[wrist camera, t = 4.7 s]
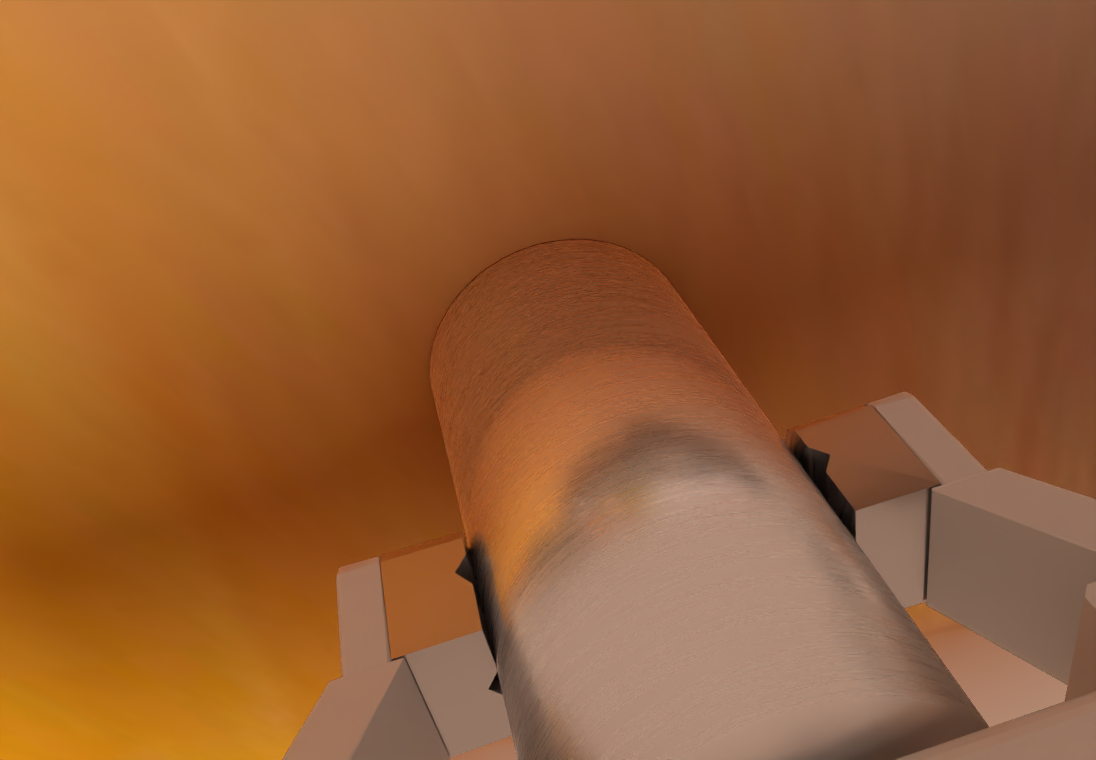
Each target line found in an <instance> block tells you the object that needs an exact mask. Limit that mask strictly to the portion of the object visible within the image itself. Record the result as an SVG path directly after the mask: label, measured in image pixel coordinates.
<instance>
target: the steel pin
mask: <svg viewBox="0 0 1096 760" xmlns="http://www.w3.org/2000/svg"><path fill="white" fill-rule="evenodd" d="M430 381H431V387H432V392H433V396H434V400H435V405H436V409H437V413H438V417H439V422H440V426H441V430H442V435H443V439H444V443H445V448H446V452H447V456H448V461H449V465H450V469H451V474H452V478H453V482H454V487H455V491H456V495H457V499H458V504H459V508H460V512H461V517H462V521H463V525H464V530H465V534H466V538H467V543H468V546H469V549H470V553H471V557H472V562H473V566H474V570H475V574H476V579H477V583H478V587H479V594H480V599H481V603H482V607H483V612H484V615H485V618H486V622H487V627H488V631H489V636H490V640H491V644H492V649H493V653H494V658H495V662H496V667H497V672H498V676H499V681H500V685H501V689H502V694H503V698H504V702H505V707H506V711H507V715H508V720H509V724H510V728H511V733H512V737H513V741H514V745H515V750H516V754H517V758H518V760H895V759H898V758H901V757H904V756H907V755H910V754H913V753H916V752H919V751H922V750H925V749H927V748H930V747H933V746H936V745H939V744H942V743H945V742H948V741H951V740H954V739H957V738H960V737H963V736H966V735H969V734H971V733H974V732H977V731H980V730H983V729H986V728H989V726H988V725H987V723H986V722H985V720H984V719H983V718H982V716H981V715H980V713H979V712H978V711H977V709H976V708H975V707H974V705H973V704H972V702H971V701H970V699H969V698H968V697H967V695H966V694H965V692H964V691H963V690H962V689H961V687H960V685H959V684H958V683H957V681H956V680H955V679H954V677H953V676H952V674H951V673H950V672H949V670H948V669H947V668H946V666H945V665H944V663H943V662H942V660H941V659H940V658H939V656H938V655H937V653H936V652H935V651H934V649H933V648H932V646H931V645H930V644H929V642H928V641H927V640H926V638H925V637H924V635H923V634H922V633H921V631H920V630H919V628H918V627H917V626H916V624H915V623H914V621H913V620H912V619H911V617H910V616H909V614H908V613H907V612H906V610H905V609H904V607H903V606H902V605H901V603H900V602H899V601H898V599H897V598H896V596H895V595H894V594H893V592H892V591H891V589H890V588H889V587H888V585H887V584H886V582H885V581H884V580H883V578H882V577H881V575H880V574H879V573H878V571H877V570H876V568H875V567H874V566H873V564H872V563H871V562H870V560H869V559H868V557H867V556H866V555H865V553H864V552H863V550H862V549H861V548H860V546H859V545H858V543H857V542H856V541H855V539H854V538H853V536H852V535H851V534H850V532H849V531H848V529H847V528H846V527H845V525H844V524H843V523H842V521H841V520H840V518H839V517H838V516H837V514H836V513H835V511H834V510H833V509H832V507H831V506H830V504H829V503H828V502H827V500H826V499H825V497H824V496H823V495H822V493H821V492H820V490H819V489H818V488H817V486H816V485H815V484H814V482H813V481H812V479H811V478H810V477H809V475H808V474H807V472H806V471H805V470H804V468H803V467H802V465H801V464H800V463H799V461H798V460H797V458H796V457H795V456H794V454H793V453H792V451H791V450H790V449H789V447H788V446H787V444H786V443H785V442H784V440H783V439H782V438H781V436H780V435H779V433H778V432H777V431H776V429H775V428H774V426H773V425H772V424H771V422H770V421H769V419H768V418H767V417H766V415H765V414H764V412H763V411H762V410H761V408H760V407H759V405H758V404H757V403H756V401H755V400H754V399H753V397H752V396H751V394H750V393H749V392H748V390H747V389H746V387H745V386H744V385H743V383H742V382H741V380H740V379H739V378H738V376H737V375H736V373H735V372H734V371H733V369H732V368H731V366H730V365H729V364H728V362H727V361H726V360H725V358H724V357H723V355H722V354H721V353H720V351H719V350H718V348H717V347H716V346H715V344H714V343H713V341H712V340H711V339H710V337H709V336H708V334H707V333H706V332H705V330H704V329H703V327H702V326H701V325H700V323H699V322H698V321H697V319H696V318H695V316H694V315H693V314H692V312H691V311H690V309H689V308H688V307H687V305H686V304H685V302H684V301H683V300H682V298H681V297H680V295H679V294H678V293H677V291H676V290H675V288H674V287H673V286H672V284H671V283H670V282H669V281H668V279H667V278H666V277H665V276H664V274H663V273H662V272H661V271H660V270H658V269H657V268H656V267H655V266H654V265H653V264H652V263H650V262H649V261H647V260H646V259H644V258H643V257H641V256H640V255H638V254H636V253H634V252H632V251H630V250H628V249H625V248H623V247H620V246H616V245H613V244H610V243H605V242H599V241H593V240H564V241H554V242H549V243H545V244H540V245H536V246H533V247H530V248H527V249H524V250H521V251H519V252H517V253H514V254H512V255H510V256H508V257H506V258H504V259H502V260H500V261H499V262H497V263H496V264H494V265H493V266H491V267H489V268H488V269H486V270H485V271H484V272H483V273H481V274H480V275H479V276H478V277H476V278H475V279H474V280H473V281H472V282H471V283H470V284H469V285H468V286H467V287H466V288H465V289H464V290H463V291H462V292H461V293H460V294H459V295H458V297H457V298H456V299H455V301H454V302H453V303H452V305H451V306H450V307H449V309H448V311H447V312H446V314H445V316H444V318H443V320H442V321H441V323H440V326H439V328H438V331H437V333H436V336H435V339H434V343H433V347H432V351H431V359H430Z"/></svg>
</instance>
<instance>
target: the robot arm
mask: <svg viewBox="0 0 1096 760" xmlns="http://www.w3.org/2000/svg"><path fill="white" fill-rule="evenodd" d="M785 443H786V444H787V446H788V447H789V449H790V450H791V451H792V453H793V454H794V456H795V457H796V458H797V460H798V461H799V463H800V464H801V465H802V467H803V468H804V470H805V471H806V472H807V474H808V475H809V477H810V478H811V479H812V481H813V482H814V484H815V485H816V486H817V488H818V489H819V490H820V492H821V493H822V495H823V496H824V497H825V499H826V500H827V502H828V503H829V504H830V506H831V507H832V509H833V510H834V511H835V513H836V514H837V516H838V517H839V518H840V520H841V521H842V523H843V524H844V525H845V527H846V528H847V529H848V531H849V532H850V534H851V535H852V536H853V538H854V539H855V541H856V542H857V543H858V545H859V546H860V548H861V549H862V550H863V552H864V553H865V555H866V556H867V557H868V559H869V560H870V562H871V563H872V564H873V566H874V567H875V568H876V570H877V571H878V573H879V574H880V575H881V577H882V578H883V580H884V581H885V582H886V584H887V585H888V587H889V588H890V589H891V591H892V592H893V594H894V595H895V596H896V598H897V599H898V601H899V602H900V603H901V605H902V606H903V607H904V608H907V607H910V606H914V605H917V604H920V603H924V602H927V606H929V607H931V608H932V609H934V610H936V611H938V612H939V613H941V614H943V615H945V616H946V617H948V618H950V619H952V620H954V621H955V622H957V623H959V624H961V625H962V626H964V627H966V628H968V629H969V630H971V631H973V632H975V633H977V634H978V635H980V636H982V637H984V638H985V639H987V640H989V641H991V642H993V643H994V644H996V645H998V646H999V647H1001V648H1003V649H1005V650H1007V651H1008V652H1010V653H1012V654H1014V655H1016V656H1017V657H1019V658H1021V659H1022V660H1024V661H1026V662H1028V663H1030V664H1031V665H1033V666H1035V667H1037V668H1038V669H1040V670H1042V671H1044V672H1045V673H1047V674H1049V675H1051V676H1053V677H1054V678H1056V679H1058V680H1060V681H1061V682H1063V683H1065V684H1067V685H1068V687H1067V692H1066V697H1065V702H1063V703H1060V704H1056V705H1054V706H1051V707H1048V708H1045V709H1042V710H1039V711H1036V712H1033V713H1030V714H1027V715H1024V716H1021V717H1018V718H1016V719H1013V720H1010V721H1007V722H1004V723H1001V724H998V725H995V726H992V727H989V728H986V729H983V730H980V731H977V732H974V733H971V734H969V735H966V736H963V737H960V738H957V739H954V740H951V741H948V742H945V743H942V744H939V745H936V746H933V747H930V748H927V749H925V750H922V751H919V752H916V753H913V754H910V755H907V756H904V757H901V758H898V759H895V760H1096V499H1094V498H1091V497H1088V496H1085V495H1082V494H1079V493H1076V492H1073V491H1070V490H1067V489H1064V488H1061V487H1057V486H1054V485H1051V484H1048V483H1045V482H1042V481H1039V480H1036V479H1033V478H1030V477H1027V476H1024V475H1021V474H1018V473H1015V472H1012V471H1009V470H1006V469H1003V468H1000V467H999V468H995V469H992V470H989V471H987V470H986V469H985V468H984V467H983V466H982V465H981V463H980V462H979V461H978V460H977V459H976V458H975V457H974V456H973V455H972V454H971V453H970V452H969V451H968V450H967V449H966V448H965V447H964V446H963V445H962V444H961V443H960V442H959V441H958V440H957V439H956V438H955V437H954V436H953V435H952V434H951V433H950V432H949V431H948V430H947V429H946V428H945V427H944V426H943V425H942V424H941V423H940V422H939V421H938V420H937V419H936V418H935V417H934V416H933V415H932V414H931V413H930V412H929V411H928V409H927V408H926V407H925V406H924V405H923V404H922V403H921V402H920V401H919V400H918V399H917V398H916V397H915V396H914V395H913V394H910V393H908V392H905V391H904V392H901V393H898V394H895V395H891V396H888V397H885V398H882V399H879V400H876V401H873V402H870V403H867V404H866V405H865V406H860V407H856V408H853V409H850V410H847V411H844V412H841V413H838V414H835V415H831V416H828V417H825V418H822V419H819V420H816V421H813V422H810V423H807V424H803V425H800V426H797V427H794V428H791V429H788V430H787V434H786V438H785ZM336 585H337V603H338V621H339V639H340V657H341V675H342V677H341V678H338V679H335V680H332V681H329V683H328V684H327V686H326V688H325V689H324V691H323V693H322V694H321V696H320V698H319V699H318V701H317V703H316V704H315V706H314V708H313V709H312V711H311V713H310V714H309V716H308V718H307V719H306V721H305V722H304V724H303V726H302V727H301V729H300V731H299V732H298V734H297V736H296V737H295V739H294V741H293V742H292V744H291V746H290V747H289V749H288V751H287V752H286V754H285V756H284V757H283V759H282V760H450V758H451V757H454V756H457V755H460V754H462V753H465V752H468V751H471V750H474V749H476V748H479V747H482V746H485V745H488V744H490V743H493V742H496V741H499V740H501V739H504V738H507V737H510V736H512V733H511V728H510V724H509V720H508V715H507V711H506V707H505V702H504V698H503V694H502V689H501V685H500V681H499V676H498V672H497V667H496V662H495V658H494V653H493V649H492V644H491V640H490V636H489V631H488V627H487V622H486V618H485V615H484V612H483V607H482V603H481V599H480V594H479V587H478V583H477V579H476V574H475V570H474V566H473V562H472V557H471V553H470V549H469V546H468V544H467V541H466V539H465V536H464V534H463V532H462V531H461V532H458V533H454V534H451V535H447V536H444V537H440V538H437V539H433V540H430V541H426V542H423V543H420V544H416V545H413V546H409V547H406V548H402V549H399V550H395V551H392V552H388V553H385V554H381V556H378V557H374V558H371V559H367V560H364V561H360V562H356V563H353V564H349V565H346V566H342V567H339V570H338V573H337V577H336Z"/></svg>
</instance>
